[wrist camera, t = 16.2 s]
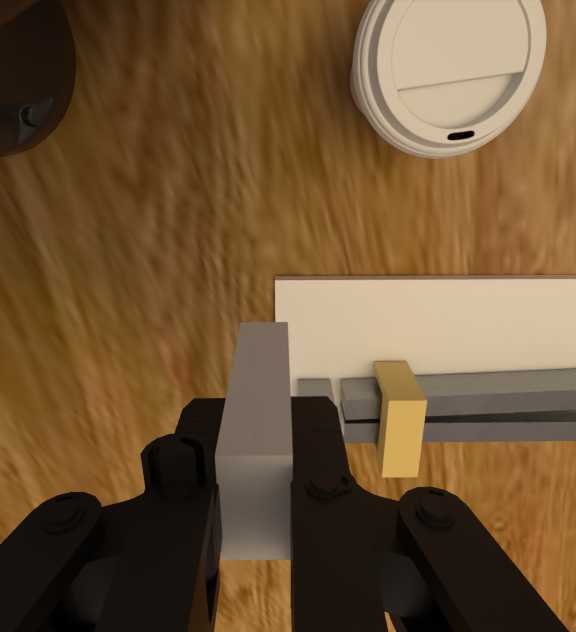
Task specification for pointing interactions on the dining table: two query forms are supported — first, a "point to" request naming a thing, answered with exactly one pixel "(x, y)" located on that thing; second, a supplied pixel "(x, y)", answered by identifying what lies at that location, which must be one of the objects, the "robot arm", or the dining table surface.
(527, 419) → the tongs fixed
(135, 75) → the dining table surface
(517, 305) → the board
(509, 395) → the tongs jaw
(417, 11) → the coffee cup
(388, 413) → the tan boxy piece
